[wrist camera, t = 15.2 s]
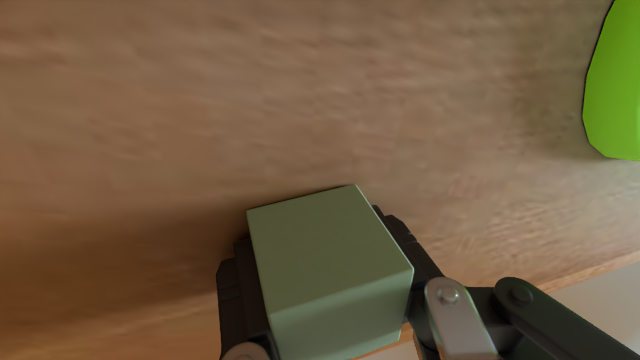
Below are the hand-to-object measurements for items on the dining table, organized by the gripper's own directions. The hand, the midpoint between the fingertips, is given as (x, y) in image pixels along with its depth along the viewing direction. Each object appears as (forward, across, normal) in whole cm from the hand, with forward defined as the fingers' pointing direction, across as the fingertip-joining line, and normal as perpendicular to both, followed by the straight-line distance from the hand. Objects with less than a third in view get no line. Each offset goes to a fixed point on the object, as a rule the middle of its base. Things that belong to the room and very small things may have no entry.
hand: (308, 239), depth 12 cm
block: (0, 0, 0) cm, 0 cm away
